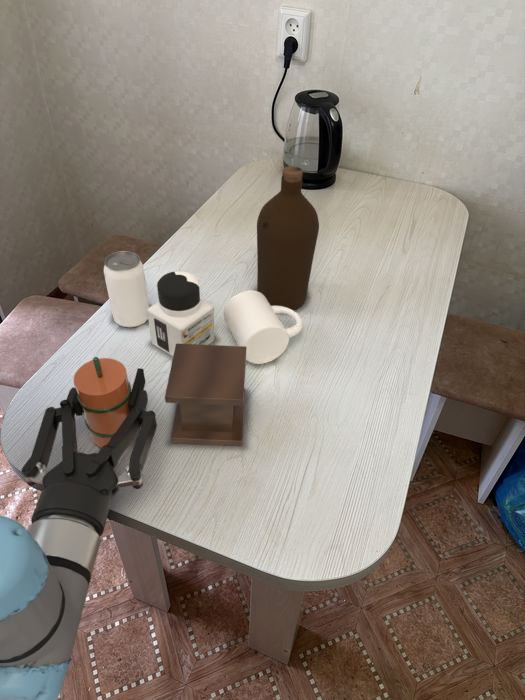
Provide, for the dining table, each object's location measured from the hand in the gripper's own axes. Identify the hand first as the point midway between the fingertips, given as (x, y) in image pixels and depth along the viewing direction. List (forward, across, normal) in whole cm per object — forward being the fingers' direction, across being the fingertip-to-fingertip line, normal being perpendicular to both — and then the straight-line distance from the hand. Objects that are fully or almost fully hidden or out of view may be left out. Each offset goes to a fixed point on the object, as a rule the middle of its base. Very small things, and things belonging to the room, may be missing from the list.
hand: (115, 374), depth 70 cm
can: (+21, -3, -7) cm, 23 cm away
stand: (-1, +13, -7) cm, 15 cm away
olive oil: (+29, +24, -8) cm, 38 cm away
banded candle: (-5, 0, -6) cm, 8 cm away
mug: (+16, +21, -8) cm, 27 cm away
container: (+15, +7, -8) cm, 18 cm away
